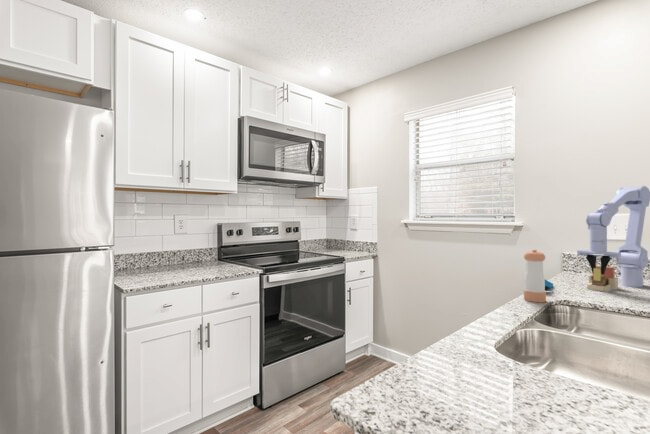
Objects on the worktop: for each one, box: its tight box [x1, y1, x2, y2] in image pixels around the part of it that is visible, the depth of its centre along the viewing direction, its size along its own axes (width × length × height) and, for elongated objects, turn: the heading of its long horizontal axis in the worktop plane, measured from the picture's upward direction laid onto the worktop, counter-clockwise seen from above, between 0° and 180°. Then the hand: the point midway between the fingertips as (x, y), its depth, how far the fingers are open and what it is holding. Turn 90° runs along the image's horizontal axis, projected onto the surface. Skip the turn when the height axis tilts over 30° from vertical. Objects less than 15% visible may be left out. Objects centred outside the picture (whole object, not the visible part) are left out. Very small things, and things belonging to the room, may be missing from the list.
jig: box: [583, 274, 620, 293], centre depth 152 cm, size 14×9×5 cm, turn 128°
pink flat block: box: [596, 265, 616, 279], centre depth 153 cm, size 2×7×5 cm, turn 38°
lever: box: [544, 278, 554, 289], centre depth 152 cm, size 7×7×18 cm
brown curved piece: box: [590, 275, 609, 286], centre depth 152 cm, size 12×4×6 cm, turn 128°
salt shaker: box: [523, 249, 547, 303], centre depth 135 cm, size 7×7×19 cm
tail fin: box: [592, 267, 603, 281], centre depth 149 cm, size 3×2×5 cm
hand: (598, 273), depth 149 cm, fingers closed on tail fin, 2 cm apart
